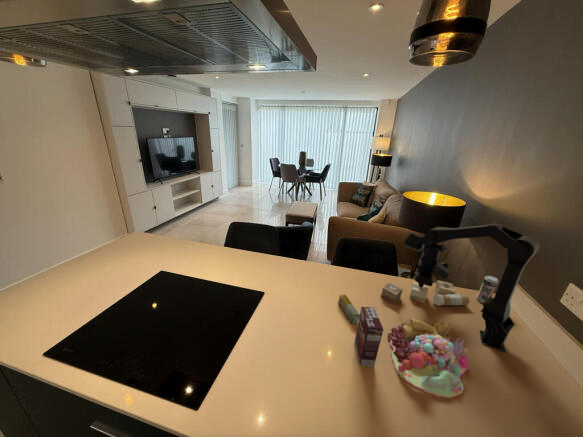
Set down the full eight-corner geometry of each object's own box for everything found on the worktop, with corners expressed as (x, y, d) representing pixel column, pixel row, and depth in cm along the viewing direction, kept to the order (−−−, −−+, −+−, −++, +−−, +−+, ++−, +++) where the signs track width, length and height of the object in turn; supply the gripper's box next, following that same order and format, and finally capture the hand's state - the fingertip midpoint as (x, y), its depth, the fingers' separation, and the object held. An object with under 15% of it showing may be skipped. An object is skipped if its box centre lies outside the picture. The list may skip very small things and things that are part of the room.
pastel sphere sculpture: (381, 322, 88) (386, 303, 85) (447, 333, 85) (454, 313, 82) (399, 390, 65) (406, 367, 62) (490, 407, 62) (503, 384, 59)
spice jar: (477, 301, 102) (486, 279, 98) (474, 295, 106) (484, 273, 102) (490, 305, 100) (500, 283, 96) (487, 299, 104) (497, 277, 100)
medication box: (357, 323, 87) (360, 315, 86) (351, 324, 86) (354, 316, 85) (343, 301, 98) (345, 293, 96) (337, 301, 97) (339, 294, 96)
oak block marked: (452, 300, 102) (455, 291, 100) (436, 296, 104) (440, 287, 102) (449, 292, 107) (452, 283, 106) (434, 289, 109) (437, 280, 108)
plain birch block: (424, 303, 100) (427, 294, 98) (409, 298, 102) (411, 288, 101) (425, 295, 104) (428, 286, 103) (410, 290, 107) (413, 281, 105)
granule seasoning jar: (459, 300, 103) (431, 300, 101) (463, 291, 101) (434, 292, 100) (468, 307, 98) (438, 307, 97) (471, 298, 97) (441, 299, 96)
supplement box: (353, 342, 79) (360, 305, 73) (367, 343, 79) (376, 307, 73) (358, 366, 71) (367, 327, 65) (374, 367, 71) (384, 328, 65)
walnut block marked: (393, 304, 98) (396, 294, 96) (380, 297, 102) (383, 287, 100) (400, 298, 102) (402, 288, 100) (387, 291, 106) (389, 282, 104)
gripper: (453, 273, 84) (441, 307, 90) (452, 253, 99) (441, 283, 105) (419, 263, 90) (410, 295, 95) (423, 245, 105) (415, 274, 110)
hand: (420, 287), depth 101 cm, fingers closed
